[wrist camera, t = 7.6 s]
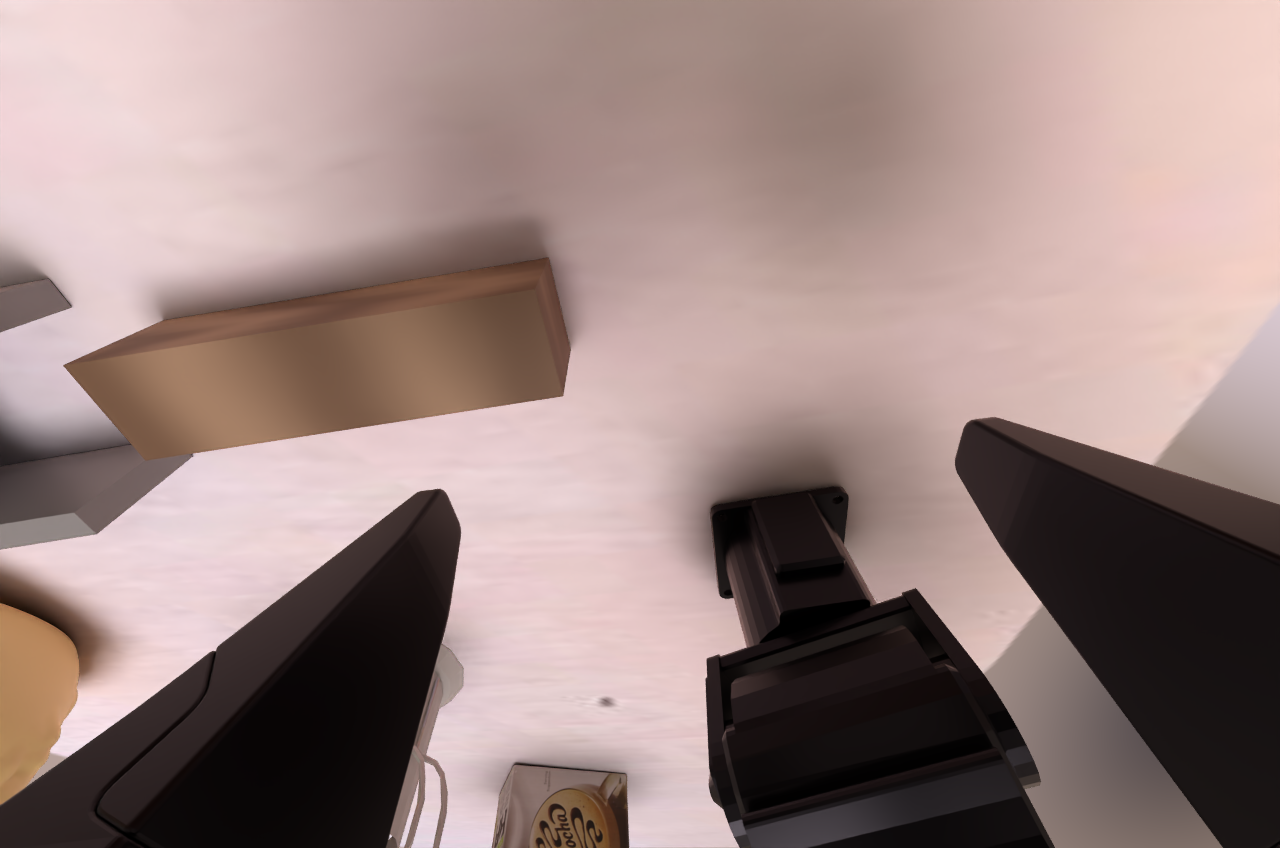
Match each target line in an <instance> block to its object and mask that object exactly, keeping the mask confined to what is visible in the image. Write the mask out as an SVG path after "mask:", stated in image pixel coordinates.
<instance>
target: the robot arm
mask: <svg viewBox="0 0 1280 848" xmlns="http://www.w3.org/2000/svg"><path fill="white" fill-rule="evenodd" d="M955 467H956V471H957V473H958V475H959V477H960V479H961V480H962V482H963V484H964V485H965V487H966V489H967V490H968V492H969V494H970V496H971V497H972V499H973V501H974V502H975V504H976V506H977V507H978V509H979V511H980V513H981V514H982V516H983V518H984V519H985V521H986V523H987V524H988V526H989V528H990V530H991V531H992V533H993V535H994V536H995V538H996V539H997V541H998V543H999V544H1000V546H1001V547H1002V549H1003V550H1004V552H1005V553H1006V555H1007V556H1008V557H1009V559H1010V560H1011V562H1012V563H1013V564H1014V566H1015V567H1016V568H1017V570H1018V571H1019V572H1020V574H1021V575H1022V576H1023V578H1024V579H1025V581H1026V582H1027V583H1028V585H1029V586H1030V587H1031V589H1032V590H1033V591H1034V593H1035V594H1036V595H1037V597H1038V598H1039V599H1040V601H1041V602H1042V604H1043V605H1044V606H1045V607H1046V609H1047V610H1048V612H1049V613H1050V614H1051V616H1052V617H1053V618H1054V620H1055V621H1056V622H1057V624H1058V625H1059V626H1060V628H1061V629H1062V630H1063V632H1064V633H1065V635H1066V636H1067V637H1068V639H1069V640H1070V641H1071V643H1072V644H1073V645H1074V647H1075V648H1076V649H1077V651H1078V652H1079V653H1080V655H1081V656H1082V658H1083V659H1084V660H1085V661H1086V663H1087V664H1088V666H1089V667H1090V668H1091V670H1092V671H1093V672H1094V674H1095V675H1096V677H1097V678H1098V679H1099V681H1100V682H1101V683H1102V684H1103V686H1104V687H1105V688H1106V690H1107V691H1108V692H1109V694H1110V695H1111V697H1112V698H1113V699H1114V701H1115V702H1116V704H1117V705H1118V706H1119V708H1120V709H1121V710H1122V712H1123V713H1124V714H1125V716H1126V717H1127V718H1128V720H1129V721H1130V722H1131V724H1132V725H1133V727H1134V728H1135V729H1136V731H1137V732H1138V733H1139V734H1140V736H1141V737H1142V739H1143V740H1144V741H1145V743H1146V744H1147V745H1148V747H1149V748H1150V749H1151V751H1152V752H1153V754H1154V755H1155V756H1156V758H1157V759H1158V760H1159V762H1160V763H1161V764H1162V766H1163V767H1164V768H1165V770H1166V771H1167V773H1168V774H1169V775H1170V776H1171V778H1172V779H1173V781H1174V782H1175V783H1176V785H1177V786H1178V787H1179V789H1180V790H1181V791H1182V793H1183V794H1184V796H1185V797H1186V798H1187V800H1188V801H1189V802H1190V804H1191V805H1192V806H1193V808H1194V809H1195V810H1196V812H1197V813H1198V814H1199V816H1200V817H1201V818H1202V820H1203V821H1204V822H1205V824H1206V825H1207V827H1208V828H1209V829H1210V830H1211V832H1212V833H1213V835H1214V836H1215V837H1216V839H1217V840H1218V841H1219V843H1220V844H1221V846H1222V847H1223V848H1280V505H1279V504H1276V503H1273V502H1270V501H1266V500H1263V499H1260V498H1257V497H1253V496H1250V495H1247V494H1243V493H1240V492H1237V491H1233V490H1231V489H1227V488H1224V487H1221V486H1218V485H1214V484H1211V483H1208V482H1205V481H1201V480H1198V479H1195V478H1192V477H1188V476H1185V475H1182V474H1179V473H1175V472H1172V471H1169V470H1165V469H1163V468H1159V467H1156V466H1153V465H1150V464H1146V463H1143V462H1140V461H1137V460H1133V459H1130V458H1127V457H1124V456H1120V455H1117V454H1114V453H1111V452H1107V451H1104V450H1101V449H1098V448H1094V447H1091V446H1088V445H1085V444H1081V443H1078V442H1075V441H1072V440H1068V439H1065V438H1062V437H1059V436H1055V435H1052V434H1049V433H1046V432H1043V431H1039V430H1036V429H1033V428H1030V427H1026V426H1023V425H1020V424H1017V423H1013V422H1010V421H1007V420H1004V419H1000V418H996V417H990V418H982V419H975V420H971V421H969V422H968V423H967V424H966V425H965V426H964V429H963V432H962V436H961V440H960V443H959V447H958V450H957V454H956V458H955ZM836 496H838V497H837V498H835V497H836ZM848 499H849V498H848V494H847V493H846V491H845V490H844V489H843V488H842V487H839V486H835V487H828V488H822V489H816V490H809V491H803V492H796V493H790V494H783V495H777V496H770V497H764V498H757V499H751V500H744V501H738V502H731V503H725V504H719V505H716V506H714V507H713V508H712V509H711V512H710V516H711V526H712V536H713V545H714V555H715V565H716V574H717V584H718V590H719V594H720V596H721V597H722V598H725V599H729V598H734V600H735V604H736V608H737V612H738V615H739V619H740V623H741V627H742V631H743V634H744V638H745V642H746V646H747V648H744V649H741V650H738V651H735V652H732V653H729V654H726V655H723V656H720V655H716V656H713V657H710V658H707V678H706V703H707V727H708V750H709V769H710V777H709V789H710V794H711V797H712V799H713V801H714V802H715V803H716V804H718V805H719V806H720V807H721V808H722V809H724V812H725V815H726V818H727V821H728V824H729V826H730V828H731V831H732V833H733V836H734V838H735V840H736V841H737V843H738V845H739V847H740V848H1055V847H1054V845H1053V843H1052V841H1051V840H1050V838H1049V835H1048V834H1047V832H1046V830H1045V828H1044V826H1043V824H1042V822H1041V820H1040V818H1039V816H1038V815H1037V813H1036V811H1035V809H1034V807H1033V805H1032V803H1031V801H1030V799H1029V797H1028V796H1027V794H1026V792H1025V790H1024V789H1027V788H1031V787H1035V786H1039V785H1040V782H1041V781H1040V776H1039V772H1038V770H1037V767H1036V765H1035V762H1034V760H1033V758H1032V756H1031V754H1030V751H1029V749H1028V747H1027V745H1026V744H1025V741H1024V739H1023V738H1022V736H1021V734H1020V732H1019V730H1018V728H1017V727H1016V725H1015V723H1014V721H1013V719H1012V718H1011V716H1010V714H1009V713H1008V711H1007V709H1006V708H1005V706H1004V704H1003V703H1002V701H1001V699H1000V698H999V696H998V695H997V693H996V691H995V690H994V689H993V687H992V686H991V684H990V683H989V681H988V680H987V678H986V677H985V675H984V674H983V673H982V671H981V670H980V669H979V667H978V666H977V665H976V663H975V662H974V661H973V660H972V658H971V657H970V656H969V655H968V653H967V652H966V651H965V649H964V648H963V647H962V646H961V644H960V643H959V642H958V641H957V639H956V638H955V637H954V636H953V634H952V633H951V632H950V630H949V629H948V628H947V627H946V625H945V624H944V623H943V622H942V620H941V619H940V618H939V617H938V615H937V614H936V613H935V612H934V610H933V609H932V608H931V606H930V605H929V604H928V603H927V601H926V600H925V599H924V598H923V596H922V595H921V594H920V593H919V591H918V590H917V589H916V588H915V589H912V590H909V591H906V592H903V593H902V596H899V597H896V598H893V599H890V600H887V601H884V602H881V603H878V604H877V603H876V602H875V600H874V598H873V596H872V594H871V593H870V591H869V589H868V587H867V585H866V584H865V582H864V580H863V578H862V576H861V575H860V573H859V571H858V569H857V567H856V566H855V564H854V562H853V560H852V558H851V557H850V555H849V553H848V551H847V549H846V548H845V546H844V538H845V529H846V519H847V509H848ZM720 514H724V515H722V516H718V515H720ZM460 539H461V527H460V523H459V521H458V518H457V516H456V514H455V511H454V509H453V507H452V505H451V502H450V500H449V498H448V495H447V494H446V492H445V491H444V490H441V489H434V490H426V491H420V492H417V493H416V494H415V495H413V496H412V497H411V498H409V499H408V500H407V501H405V502H404V503H403V504H402V505H400V506H399V507H398V508H396V509H395V510H394V511H393V512H391V513H390V514H389V515H387V516H386V517H385V518H383V519H382V520H381V521H380V522H378V523H377V524H376V525H374V526H373V527H372V528H370V529H369V530H368V531H367V532H365V533H364V534H363V535H361V536H360V537H359V538H358V539H356V540H355V541H354V542H352V543H351V544H350V545H348V546H347V547H346V548H345V549H343V550H342V551H341V552H339V553H338V554H337V555H336V556H334V557H333V558H332V559H330V560H329V561H328V562H326V563H325V564H324V565H323V566H321V567H320V568H319V569H317V570H316V571H315V572H314V573H312V574H311V575H310V576H308V577H307V578H306V579H304V580H303V581H302V582H301V583H299V584H298V585H297V586H295V587H294V588H293V589H292V590H290V591H289V592H288V593H286V594H285V595H284V596H282V597H281V598H280V599H279V600H277V601H276V602H275V603H273V604H272V605H271V606H270V607H268V608H267V609H266V610H264V611H263V612H262V613H260V614H259V615H258V616H257V617H255V618H254V619H253V620H251V621H250V622H249V623H247V624H246V625H245V626H244V627H242V628H241V629H240V630H238V631H237V632H236V633H235V634H233V635H232V636H231V637H229V638H228V639H227V640H225V641H224V642H223V643H222V644H220V645H219V646H218V647H217V650H216V651H212V652H210V653H208V654H207V655H206V656H205V657H203V658H202V659H201V660H199V661H198V662H197V663H196V664H194V665H193V666H192V667H190V668H189V669H188V670H187V671H185V672H184V673H183V674H181V675H180V676H179V677H177V678H176V679H175V680H173V681H172V682H171V683H169V684H168V685H167V686H165V687H164V688H163V689H161V690H160V691H159V692H157V693H156V694H155V695H154V696H152V697H151V698H150V699H148V700H147V701H146V702H144V703H143V704H142V705H140V706H139V707H138V708H136V709H135V710H134V711H132V712H131V713H129V714H128V715H127V716H125V717H124V718H122V719H121V720H120V721H118V722H117V723H115V724H114V725H113V726H111V727H110V728H108V729H107V730H106V731H104V732H103V733H101V734H100V735H99V736H97V737H96V738H94V739H93V740H92V741H90V742H89V743H87V744H86V745H85V746H83V747H82V748H81V749H79V750H78V751H76V752H75V753H73V754H72V755H71V756H69V757H68V758H66V759H65V760H64V761H62V762H61V763H60V764H58V765H57V766H55V767H54V768H52V769H51V770H49V771H48V772H47V773H45V774H44V775H42V776H41V777H39V778H38V779H37V780H35V781H34V782H32V783H31V784H30V785H28V786H27V787H25V788H24V789H22V790H21V791H20V792H18V793H17V794H15V795H14V796H12V797H11V798H10V799H8V800H7V801H5V802H4V803H3V804H1V805H0V848H386V846H387V843H388V839H389V835H390V832H391V828H392V824H393V821H394V817H395V813H396V810H397V806H398V802H399V798H400V795H401V791H402V787H403V784H404V780H405V776H406V773H407V769H408V765H409V761H410V758H411V754H412V750H413V747H414V743H415V739H416V736H417V732H418V728H419V724H420V721H421V717H422V713H423V710H424V706H425V702H426V699H427V695H428V691H429V688H430V684H431V680H432V676H433V673H434V669H435V665H436V662H437V658H438V654H439V651H440V647H441V643H442V639H443V636H444V632H445V628H446V624H447V620H448V616H449V610H450V605H451V598H452V592H453V585H454V579H455V572H456V565H457V559H458V552H459V546H460Z"/></svg>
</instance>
